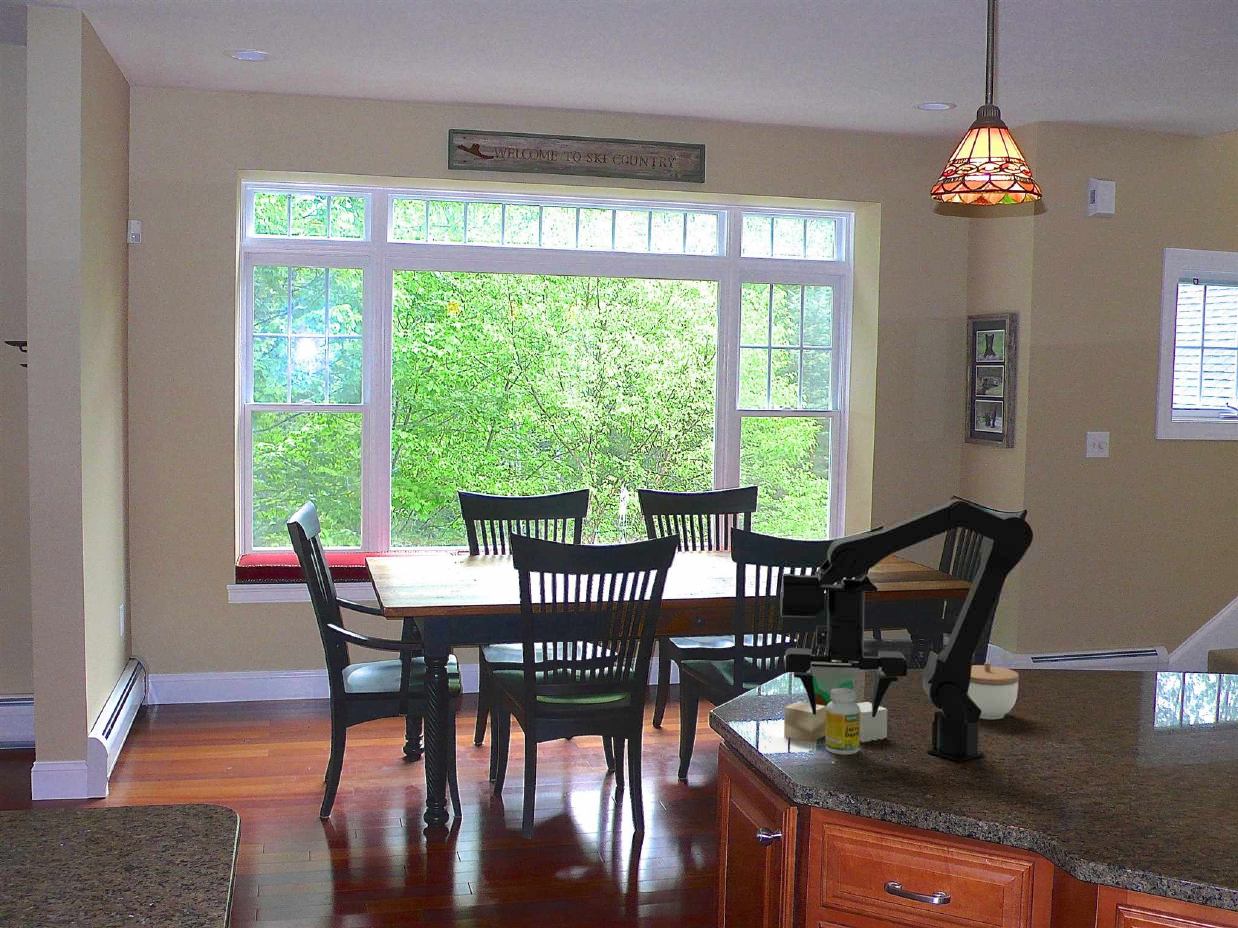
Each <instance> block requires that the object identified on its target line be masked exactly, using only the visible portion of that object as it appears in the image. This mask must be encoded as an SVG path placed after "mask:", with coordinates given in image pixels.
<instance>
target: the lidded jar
mask: <svg viewBox="0 0 1238 928" xmlns="http://www.w3.org/2000/svg"><path fill="white" fill-rule="evenodd" d="M991 664H992V663H991V662H987V661H986V662H984V665H979V664H977V665H975V664H972V669H971V680H970V685H969V689H968V695H969V696H970V698H971V699H972V700H973V701H974V702H975V704H976V705H977V706H978V707H979V708H980V710H981V711H982V712H981V715H980V717H979V719H981V720H1000V719H1003V718H1004V717H1005V715H1006V714H1008V713H1009V712H1010V711H1011V710H1012V708H1013V707H1014V705H1015V704H1016V700H1017V696H1018V692H1019V691H1018V690H1019V681H1020V675H1019V673H1018V672H1017V671H1015V670H1012V669H1010V668H1006V667H1001V666H1000V667H999V666H993V665H991Z"/></svg>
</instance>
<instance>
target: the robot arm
mask: <svg viewBox="0 0 1238 928" xmlns="http://www.w3.org/2000/svg"><path fill="white" fill-rule="evenodd" d="M959 527H961V528H963V529H967V530H968V531H971V532H974V533H975V534H978V535H981V536H983V539H982V544H981V552H980V553H981V554H980V563H979V567H978V569H977V570H976V571H977V572H976V574H975V577H974V579H973V581H972V583H971V586H970V588H969V591H968V594H967V596H966V598H965V601H964V603H963V605H962V607H961V610H960V612H959V615H958V617H957V620H956V622H955V625H954V627H953V629H952V632H951V634H950V636H949V639H948V641H947V644H946V645H945V647H944V648H943V649H942V650H941V651H939V653H938V654H937V652H934V651H932V650H931V651H929V654H928V658H927V663H926V665H925V667H924V668H923V669H922V670H921V671H920V675H921V676H922V677H923V678H922V687H923V690H924V693H925V694H926V695H927V697H928V698H929V700H930V701H931V702H932V704H933V705H934V706H935V707H936V708H937V709H938V711H934V713H933V717H934V718H933V720H932V721H931V743H930V744H931V746H932V747H928V748H927V749H926V752H927V753H930V754H932V755H935V756H939V757H943V758H946V759H948V760H949V759H950V760H953V761H956V762H959V763H960V762H965V761H968V760H971V759H975V758H977V757H978V758H979V757H982V756H985V751H984V750H980V749H979V739H980V738H979V737H980V736H979V734H980V733H979V732H980V718H979V717H980V715H981V712H982V711H981V710H980V708H979V707H978V706H977V705H976V704H975V702H974V701H973V700H972V699H971V698H970V696H969V695H968V689H969V685H970V680H971V669H972V665H973V658H974V656H975V653H976V651H977V648H978V646H979V643H980V641H981V638H982V637H983V634H984V632H985V629H986V627H987V624H988V623H989V620H990V618H991V614H992V612H993V610H994V608H995V605H996V603H997V600H998V598H999V596H1000V593H1001V592H1002V589H1003V586H1004V584H1005V582H1006V579H1007V577H1008V575H1009V574H1010V573H1011V572H1012V571H1013V569H1014V568H1016V567H1017V565H1019V563H1020V562H1021V560H1022V559H1023V558H1024V556H1025V554H1026V553H1027V551H1028V550H1029V548H1030V546H1031V545H1032V542H1033V539H1034V532H1033V530H1032V526H1031V525H1030V524H1029V523H1028V521H1027V520H1025V519H1023V518H1022V517H1019V516H1016V515H1014V514H1011V513H1006V512H1004V513H1003V512H1002V513H998V514H993V513H990V512H988V511H985V510H983V509H980V508H977V507H974V506H973V505H970V504H969V503H968V502H966V501H964V500H962V499H959V498H958V499H957V498H953V499H952V498H951V499H949V500H948V501H946V502H945V503H943V504H941V505H939V506H937V507H934V508H932V509H930V510H927V511H924V512H921V513H919V514H916V515H915V516H912V517H909V518H907V519H905V520H902V521H899V522H898V523H894V524H892V525H890V526H887V527H884V528H882V529H880V530H877V531H872V532H871V531H870V532H864V533H857V534H853V535H849V536H848V535H847V536H845V537H844V536H843V537H840V538H837V539H835V540H834V541H832V543H830V545H829V548H828V549H827V556H826V559H825V560H824V562H823V563H822V564H821V565H820V567H819V568H818V569H817V570H816V572H815V573H814V575H807V574H805V575H803V574H802V575H801V574H792V573H783V574H782V582H781V591H780V595H779V596H780V602H779V604H780V607H779V608H780V617H782V618H784V617H785V618H815V619H816V618H817V617H818V614H821V612H824V610H825V591H827V617H826V619H827V623H826V624H827V625H816V626H815V646H816V647H825V648H824V649H825V650H824V651H825V653H826V654H811V649H810V648H804V647H803V648H800V647H788V648H787V649H786V650H785V651H784V652H785V653H784V655H785V656H784V667H785V672H787V673H793V678H796V679H800V681H801V683H802V685H803V687H804V689H805V691H806V695H807V697H808V702H809V703H810V705H811V708H812V712H813V715H816V701H815V692H814V684H813V675H812V669H811V666H814V667H841V668H859V669H869V670H870V669H872V670H873V669H875V681H874V687H873V688H874V689H873V695H872V702H871V703H872V717H875V715H876V713H877V710H878V708H879V706H880V707H881V703H882V701H883V698H884V696H885V694H886V692H887V690H888V689H889V687H890V686H891V684H892V683H893V682H898V681H899V677H907V674H908V662H907V660H906V657H905V656H904V654H903V653H902V652H901V651H893V650H892V651H890V650H889V651H887V650H886V651H885V650H878V653H877V656H865V655H864V647H865V646H864V644H865V643H864V641H865V639H864V638H865V637H864V636H865V633H864V632H865V592H867V593H869V592H871V593H872V592H873V593H875V592H878V587H877V586H876V585H875V584H874V583H873V582H872V581H871V579H870V577H869V576H868V575H867V574H863V573H865V572H867V571H869V570H870V569H872V568H873V567H875V566H876V565H878V564H879V563H880V562H881V561H883V560H884V559H885V558H886V557H888V556H890V555H892V554H894V553H896V552H898V551H899V552H900V551H901V550H904V549H906V548H909V547H911V546H913V545H916V544H919V543H921V542H923V541H926V540H929V539H930V538H934V537H936V536H939V535H941V534H944V533H946V532H949V531H951V530H953V529H956V528H959ZM862 574H863V576H862V577H861V578H859V579H853V578H857V577H859V576H861V575H862ZM840 581H841V583H839V584H838V582H840ZM832 660H838V661H841V662H836V661H835V662H834V661H833V662H832ZM850 661H851V662H850ZM852 661H853V662H858V663H852Z"/></svg>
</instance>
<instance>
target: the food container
mask: <svg viewBox="0 0 1238 928" xmlns="http://www.w3.org/2000/svg"><path fill="white" fill-rule="evenodd" d="M833 661H834V662H835V661H836V662H841V661H838V660H832V662H833ZM850 662H851V661H850ZM852 663H858V662H853V661H852ZM811 669H812V675H813V684H814V692H815V701H816V704H817V705H822V706H827V704H828V703H830V702H831V701H832V700H831V698H830V695H831V690H832V689H835V688H847V689H852V690H855V680H856V675H857V674H858V673H860V668H841V667H814V666H811Z"/></svg>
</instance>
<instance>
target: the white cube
mask: <svg viewBox="0 0 1238 928" xmlns="http://www.w3.org/2000/svg"><path fill="white" fill-rule="evenodd" d="M855 703H856V702H855ZM856 704H857V705H858V706H859V707H860V738H859V742H862V743H867V742H872V741H871V740H874V741H878V740H877V739H880V740H884V738H886V739H887V736H888V735H887V733H888V732H887V731H888V708H885V707H883V706H881V705H880V706H879V708H878V710H877V713H876V715H875V717H872V702H869V701H864V702H858V703H856Z"/></svg>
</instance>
